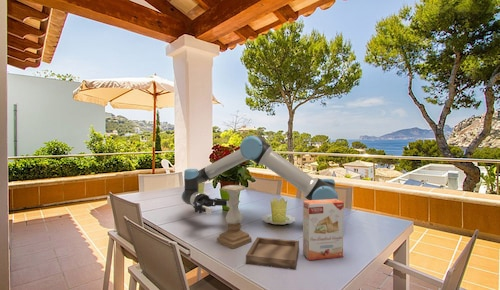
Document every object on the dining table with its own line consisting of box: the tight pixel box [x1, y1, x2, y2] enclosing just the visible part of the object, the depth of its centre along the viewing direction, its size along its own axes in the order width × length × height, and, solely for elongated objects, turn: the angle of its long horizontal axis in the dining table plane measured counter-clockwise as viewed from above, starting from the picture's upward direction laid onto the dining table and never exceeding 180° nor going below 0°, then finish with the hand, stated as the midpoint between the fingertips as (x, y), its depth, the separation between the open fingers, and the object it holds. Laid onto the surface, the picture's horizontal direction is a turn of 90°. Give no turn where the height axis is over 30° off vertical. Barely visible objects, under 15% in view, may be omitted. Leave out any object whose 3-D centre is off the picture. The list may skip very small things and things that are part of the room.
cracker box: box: [302, 199, 345, 261], centre depth 96 cm, size 14×6×21 cm, turn 101°
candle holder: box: [216, 184, 253, 250], centre depth 110 cm, size 11×11×24 cm
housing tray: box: [245, 236, 300, 270], centre depth 97 cm, size 17×17×3 cm
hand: (223, 208), depth 116 cm, fingers open, 13 cm apart
